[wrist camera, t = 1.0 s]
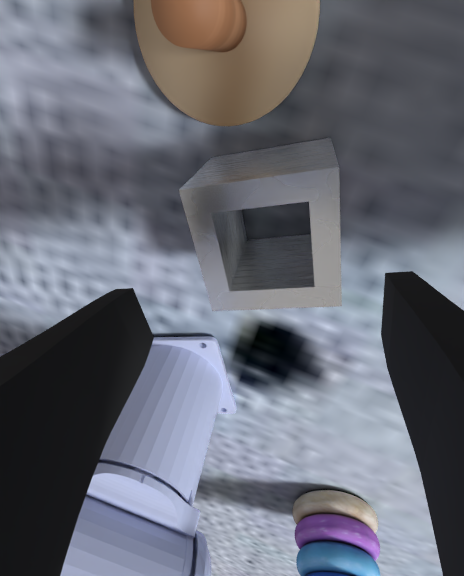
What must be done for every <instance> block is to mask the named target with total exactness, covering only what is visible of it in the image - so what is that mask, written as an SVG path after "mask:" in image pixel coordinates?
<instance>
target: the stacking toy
mask: <svg viewBox="0 0 464 576" xmlns="http://www.w3.org/2000/svg"><path fill="white" fill-rule="evenodd" d="M292 512H293V518H294V521H295V523H296V524H297V526H296V529H295V540H296V543H297V546H298V547H299V549H300V551H299V552H298V555H297V569H298V572H299V574H300V575H301V576H380V571H379V568H378V565H377V563H376V562H375V560H376V559H377V558H378V556H379V553H380V544H379V541H378V538H377V536H376V534H375V533H376V532H377V528H378V519H377V516H376V514H375V511H374V510H373V509H372V507H371V506H370V505H369V504H367V503H366V502H365V501H363V500H362V499H360V498H358V497H356V496H353V495H351V494H348V493H344V492H340V491H334V490H318V491H312V492H308V493H306V494H304V495H302V496H300V497H299V498H298V499H297V500H296V501H295V503H294V505H293V511H292Z"/></svg>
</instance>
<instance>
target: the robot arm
mask: <svg viewBox="0 0 464 576" xmlns="http://www.w3.org/2000/svg"><path fill="white" fill-rule="evenodd" d="M381 336H382V342H383V347H384V353H385V358H386V363H387V368H388V371H389V375H390V378H391V381H392V384H393V387H394V390H395V393H396V396H397V399H398V402H399V405H400V408H401V411H402V414H403V417H404V420H405V424H406V427H407V430H408V433H409V436H410V439H411V442H412V445H413V448H414V451H415V454H416V458H417V461H418V465H419V468H420V472H421V476H422V480H423V485H424V489H425V494H426V498H427V502H428V507H429V511H430V516H431V520H432V525H433V530H434V534H435V539H436V544H437V549H438V553H439V558H440V563H441V568H442V572H443V576H464V311H463V310H462V309H461V308H459V307H458V306H457V305H455V304H454V303H453V302H451V301H450V300H449V299H447V298H446V297H445V296H443V295H442V294H441V293H440V292H438V291H437V290H436V289H434V288H433V287H432V286H431V285H429V284H428V283H427V282H426V281H424V280H423V279H422V278H420V277H419V276H418V275H416V274H415V273H414V272H412V271H411V272H394V273H385V286H384V301H383V315H382V330H381ZM202 343H205V344H202ZM236 409H237V407H236V403H235V400H234V396H233V393H232V389H231V386H230V382H229V379H228V375H227V372H226V368H225V365H224V361H223V358H222V354H221V351H220V347H219V344H218V341H217V340H216V339H215V338H214V337H153V335H152V332H151V330H150V328H149V325H148V323H147V320H146V318H145V316H144V313H143V311H142V309H141V306H140V304H139V302H138V299H137V297H136V295H135V292H134V290H133V288H129V289H115V290H113V291H111V292H109V293H107V294H105V295H103V296H102V297H100V298H98V299H96V300H95V301H93V302H91V303H90V304H88V305H86V306H85V307H83V308H81V309H80V310H78V311H77V312H75V313H73V314H72V315H70V316H69V317H67V318H65V319H64V320H62V321H61V322H59V323H57V324H56V325H54V326H53V327H51V328H49V329H48V330H46V331H44V332H43V333H41V334H39V335H37V336H36V337H34V338H32V339H31V340H29V341H27V342H26V343H24V344H22V345H20V346H19V347H17V348H15V349H14V350H12V351H10V352H8V353H6V354H5V355H3V356H1V357H0V576H211V558H210V554H209V550H208V546H207V541H206V538H205V536H204V535H203V534H202V533H201V532H199V531H197V530H196V528H197V524H198V520H199V516H200V510H198V509H196V508H194V507H193V503H194V499H195V495H196V491H197V487H198V483H199V480H200V476H201V472H202V468H203V464H204V460H205V457H206V453H207V449H208V445H209V441H210V437H211V433H212V430H213V426H214V422H215V418H216V414H217V413H221V414H234V413H235V412H236Z"/></svg>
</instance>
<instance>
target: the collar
mask: <svg viewBox="0 0 464 576" xmlns="http://www.w3.org/2000/svg"><path fill="white" fill-rule="evenodd" d="M179 193H180V196H181V200H182V204H183V207H184V211H185V214H186V218H187V221H188V225H189V229H190V232H191V236H192V239H193V243H194V246H195V250H196V254H197V257H198V261H199V264H200V268H201V272H202V275H203V279H204V282H205V286H206V289H207V293H208V297H209V300H210V304H211V307H212V311H227V310H254V309H280V308H306V307H333V306H342V302H341V240H340V178H339V164H338V161H337V158H336V154H335V151H334V148H333V144H332V141H331V138H325V139H319V140H313V141H307V142H301V143H295V144H289V145H283V146H277V147H271V148H265V149H259V150H253V151H247V152H241V153H235V154H229V155H223V156H217V157H212V158H211V159H210V160H209V161H208V162H207V163H206V164H205V165H204V166H203V167H202V168H201V169H200V170H199V171H198V172H196V173H195V174H194V175H193V176H192V177H191V178H190V179H189V180H188V181H187V182H186V183H185V184H184V185H183V186H182V187H181V188H180V189H179ZM300 202H309V210H310V225H311V234H304V235H293V236H283V237H272V238H262V239H251V240H247V235H246V230H245V224H244V219H243V213H242V209H250V208H259V207H267V206H275V205H284V204H292V203H300Z"/></svg>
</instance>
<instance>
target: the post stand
mask: <svg viewBox="0 0 464 576" xmlns="http://www.w3.org/2000/svg"><path fill="white" fill-rule="evenodd" d="M319 14H320V0H134V20H135V28H136V34H137V38H138V42H139V47H140V50H141V53H142V56H143V59H144V61H145V63H146V66H147V68H148V70H149V72H150V74H151V76H152V78H153V79H154V81H155V83H156V84H157V86H158V87H159V88H160V90H161V91H162V93H163V94H164V95H165V96H166V97H167V98H168V99H169V100H170V102H171V103H173V104H174V105H175V106H176V107H177V108H178V109H179V110H181V111H182V112H184V113H185V114H187V115H188V116H190V117H192V118H194V119H196V120H198V121H201V122H204V123H207V124H211V125H216V126H236V125H242V124H245V123H249V122H252V121H254V120H256V119H259V118H261V117H262V116H264V115H266V114H267V113H269V112H270V111H272V110H273V109H274V108H275V107H277V106H278V105H279V104H280V103H281V102H282V101H283V100H284V99H285V98H286V97H287V96H288V95H289V93H290V92H291V91H292V89H293V88H294V87H295V86H296V84H297V82H298V81H299V79H300V77H301V76H302V74H303V72H304V70H305V68H306V66H307V63H308V61H309V59H310V56H311V53H312V50H313V47H314V44H315V39H316V35H317V30H318V23H319Z"/></svg>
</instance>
